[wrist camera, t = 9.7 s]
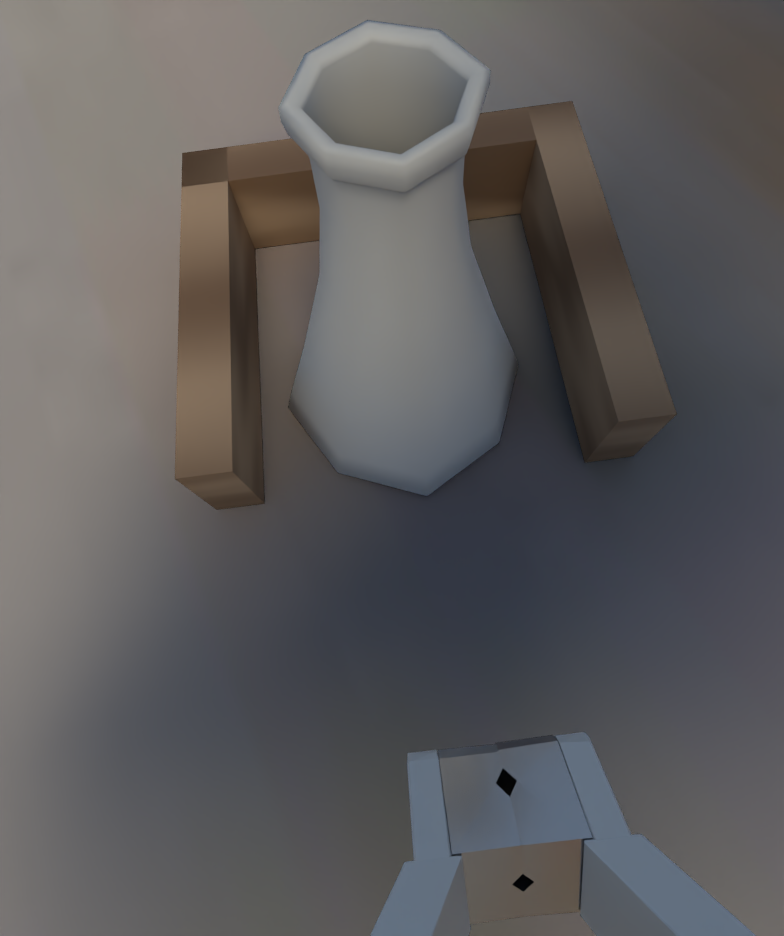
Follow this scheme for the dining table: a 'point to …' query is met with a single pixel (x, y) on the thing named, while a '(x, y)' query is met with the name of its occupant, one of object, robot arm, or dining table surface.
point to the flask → (396, 260)
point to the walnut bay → (486, 195)
